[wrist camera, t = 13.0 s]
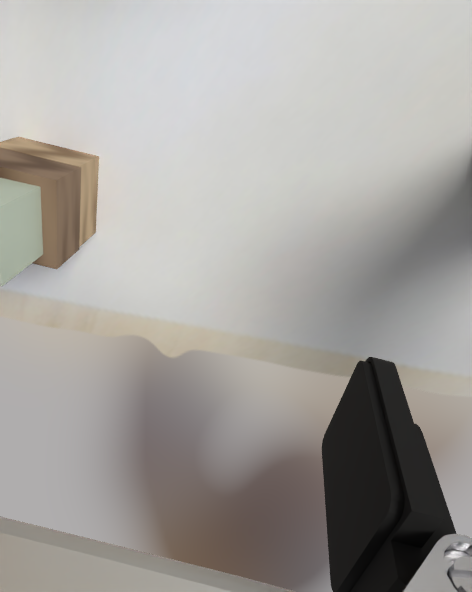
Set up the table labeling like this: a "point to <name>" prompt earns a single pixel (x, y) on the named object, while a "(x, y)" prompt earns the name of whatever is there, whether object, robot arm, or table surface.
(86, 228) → the oak slab
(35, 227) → the sage cube
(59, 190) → the walnut slab
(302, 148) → the table surface
